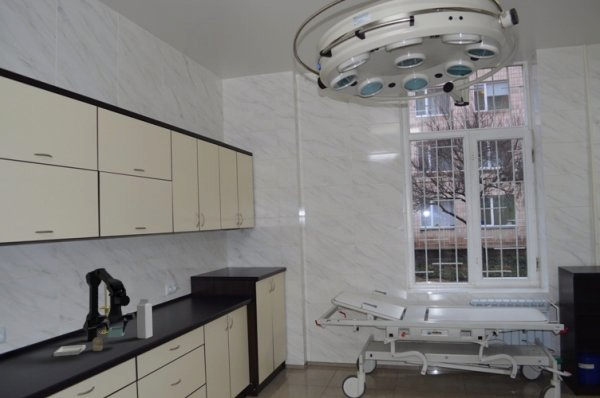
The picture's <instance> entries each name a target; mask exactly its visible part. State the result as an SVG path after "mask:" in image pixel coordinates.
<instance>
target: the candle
mask: <svg viewBox="0 0 600 398" xmlns="http://www.w3.org/2000/svg"><path fill="white" fill-rule="evenodd" d="M103 287H104V289H103V290H104V306H100V307H98V310H104V315H107V316H108V314H109V311H110V305H109V296H108V295H109V291H108V290H107V285H106V284H105V283H104V286H103ZM101 331H102V332H101V333H100V331H99V332H98V334H99V333H100V334H99V335H107V334H106V333H108V332H107V330H106V327H105V326H104V329H103V330H101ZM103 331H104V332H103Z"/></svg>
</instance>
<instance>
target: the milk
mask: <svg viewBox="0 0 600 398" xmlns="http://www.w3.org/2000/svg"><path fill="white" fill-rule="evenodd" d="M136 321H137V322H136V326H137V327H136V329H137V339H144V340H145V339H149V338H151V337H153V304H152V303H151V302H149V299H145V298H144V299H143V298H140V299H139V302H138V303H137V304H136Z"/></svg>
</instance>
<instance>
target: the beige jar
mask: <svg viewBox="0 0 600 398" xmlns="http://www.w3.org/2000/svg"><path fill="white" fill-rule="evenodd" d="M99 337H100V336H99ZM102 350H104V337H102V336H101V337H100V338H94V339H93V341H92V351H93V352H97V351H98V352H99V351H102Z"/></svg>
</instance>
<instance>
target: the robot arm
mask: <svg viewBox="0 0 600 398" xmlns="http://www.w3.org/2000/svg"><path fill="white" fill-rule="evenodd" d="M85 282H86V284H87V286H88V288H89V292H88V296H89V299H88V302H89V304H88V305H89V306H88V308H89V309H88V311H89V312H88V313H87V315H86V317H85V321H84V323H83V325H82V329H83V331H85V332H86V339H85V341H84V342H93V339H94V338H100V336H99V332H98V329H102V324H103V326H104V328H105V327H106V330H107V332H108V330H109V329H110V328H111V327H110V322H114V321H115V322H116V321H119V320H121V319H122V320H123V321H122V322H123V326H122V327H123V333H124V332H125V330H126V328H127V325H128V323H129V322H130V321H132V320H135V318H136V315H135V313H134V312H127V313H126V314H123V311H122V307H126V306H129V304H130V302H131V298H130V296H129V295H127V289H126V288H125V285H124V283H123V282H122V281H121V280H120V279H117V278H114V277H113V276H112V275H111V274H110V273H109V272H108V271H107V270H106V268H104V267H99V268H95V269H94V270H92V271H88V272H87V273H86V274H85ZM102 282H103V283H104V284H106V285H107V290H108V297H109V306H110V309H109V314H108V316H107V315H105V314H100V312H99V287H100V285H101V283H102Z"/></svg>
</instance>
